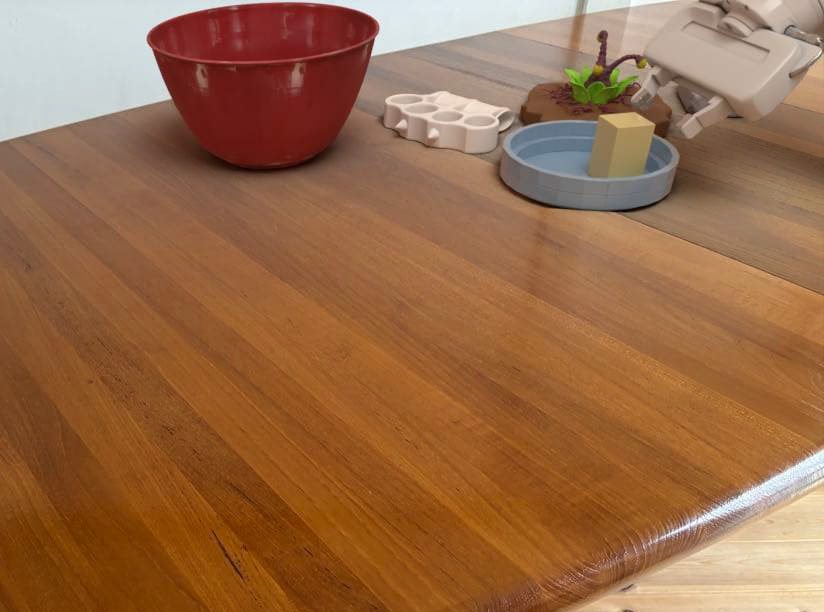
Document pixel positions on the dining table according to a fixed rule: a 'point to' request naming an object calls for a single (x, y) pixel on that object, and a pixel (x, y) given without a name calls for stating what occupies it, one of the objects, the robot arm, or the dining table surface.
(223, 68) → the mixing bowl
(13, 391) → the dining table surface
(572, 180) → the blue bowl
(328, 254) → the dining table surface
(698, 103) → the stone block
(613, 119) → the yellow block
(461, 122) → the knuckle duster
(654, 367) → the dining table surface
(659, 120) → the plant
